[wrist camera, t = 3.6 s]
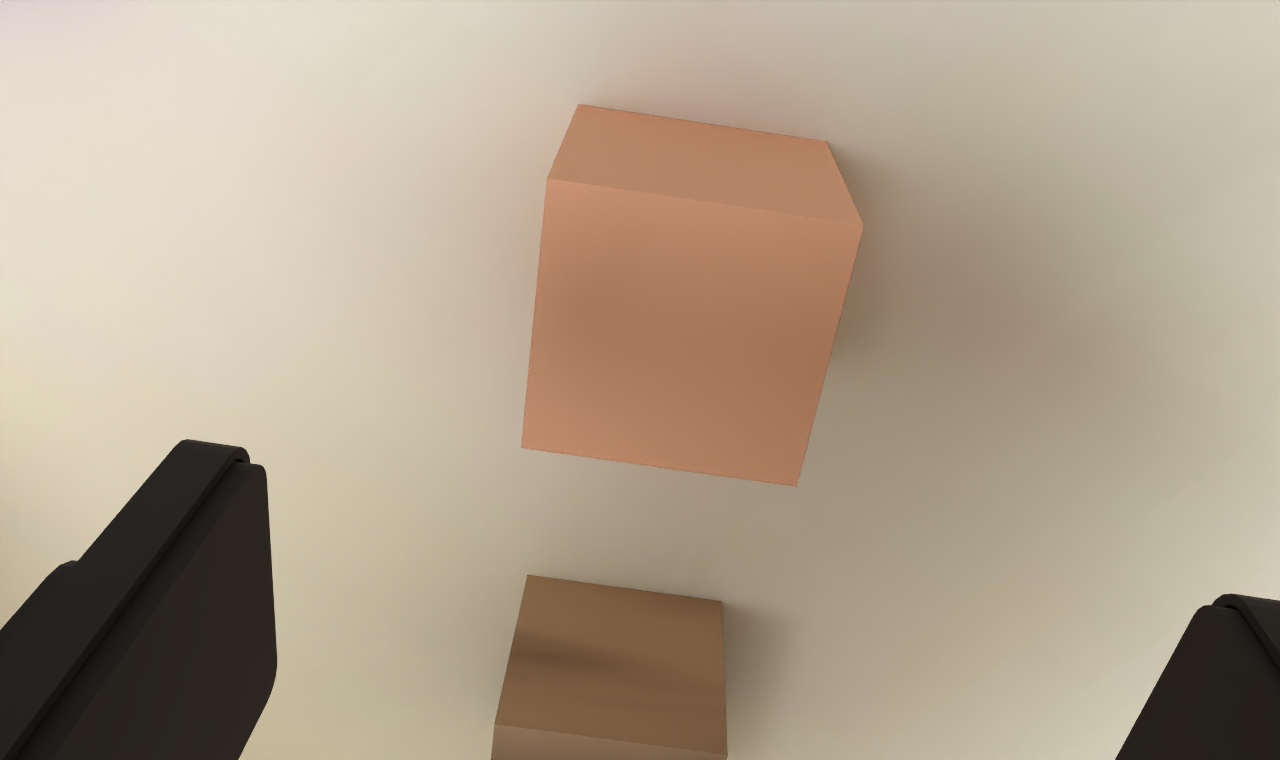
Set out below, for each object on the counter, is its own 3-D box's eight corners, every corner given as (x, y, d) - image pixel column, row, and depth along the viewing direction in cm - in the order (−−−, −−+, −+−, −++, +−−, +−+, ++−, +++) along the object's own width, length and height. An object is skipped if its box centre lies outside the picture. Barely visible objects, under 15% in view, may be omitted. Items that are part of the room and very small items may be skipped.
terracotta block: (776, 359, 23) (796, 486, 18) (554, 328, 22) (521, 447, 18) (826, 140, 20) (864, 224, 16) (578, 103, 20) (547, 178, 16)
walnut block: (690, 736, 28) (690, 901, 24) (513, 712, 28) (480, 874, 24) (720, 598, 26) (727, 754, 21) (527, 572, 26) (494, 724, 21)
